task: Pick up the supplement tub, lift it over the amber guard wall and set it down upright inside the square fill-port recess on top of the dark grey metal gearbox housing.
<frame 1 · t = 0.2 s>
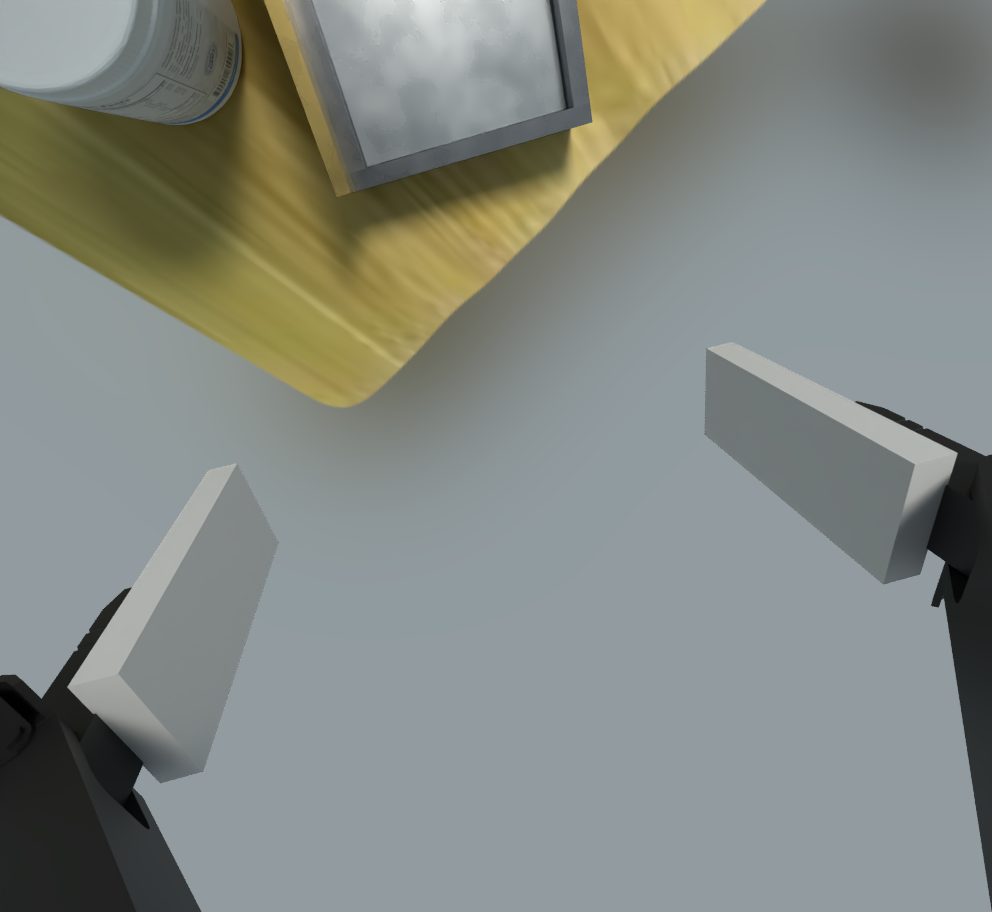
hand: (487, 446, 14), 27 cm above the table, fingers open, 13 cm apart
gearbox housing: (432, 21, 31), on the table
supplement tub: (159, 31, 30), on the table
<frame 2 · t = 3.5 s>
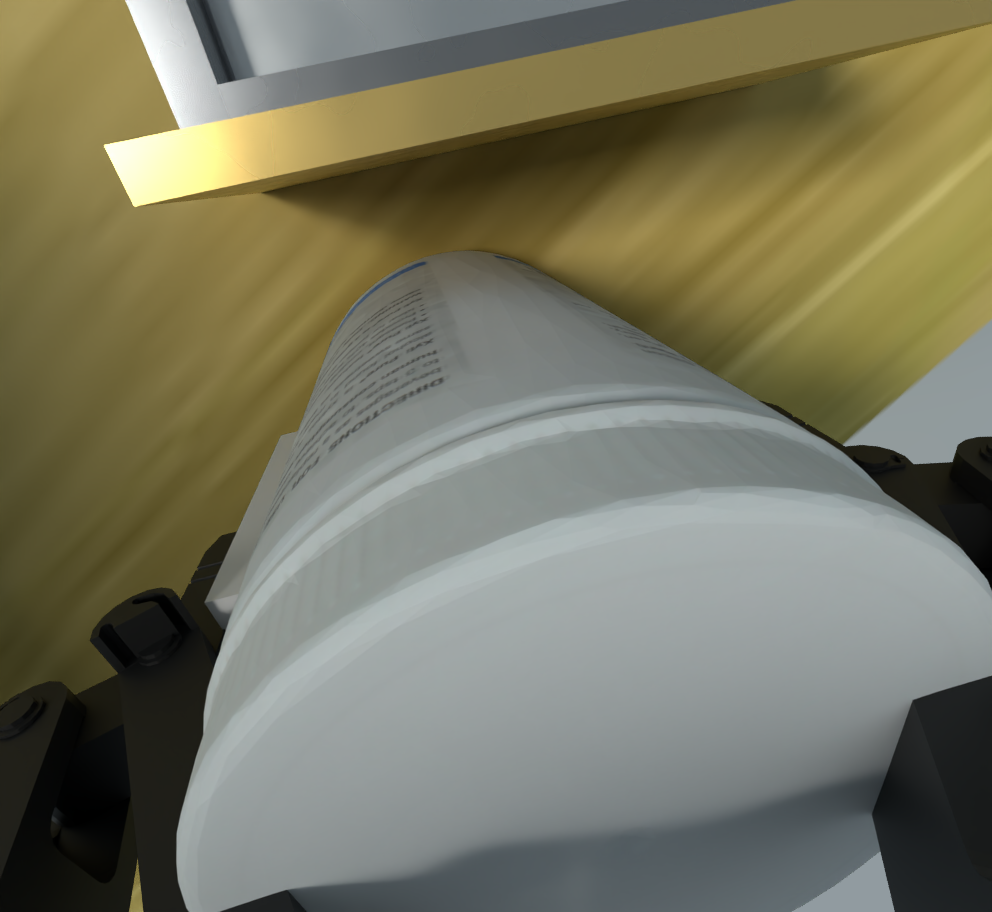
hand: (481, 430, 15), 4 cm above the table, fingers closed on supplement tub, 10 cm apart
supplement tub: (466, 384, 19), on the table, touching gripper
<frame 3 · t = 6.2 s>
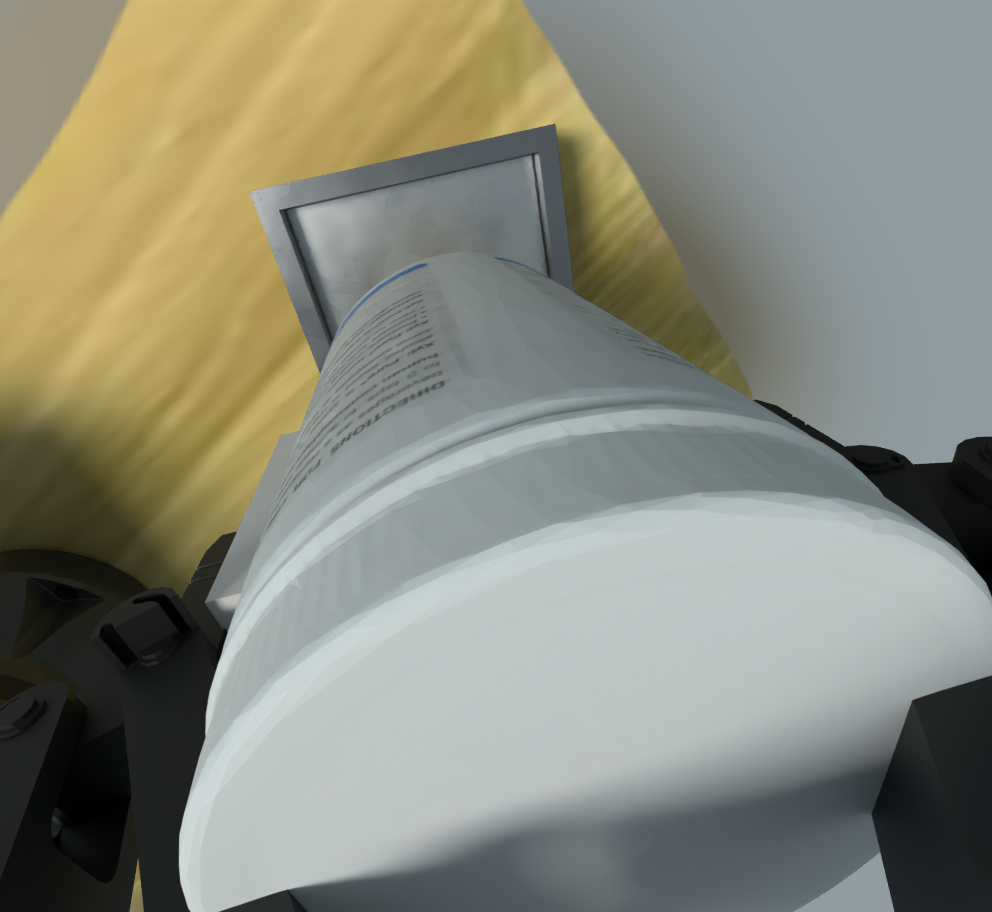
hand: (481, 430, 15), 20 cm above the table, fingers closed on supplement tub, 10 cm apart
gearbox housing: (437, 295, 32), on the table
supplement tub: (466, 385, 19), point 16 cm above the table, touching gripper
when the fingers open (8 cm above the table, at t = 8.8 s): supplement tub drops 1 cm, resting on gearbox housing.
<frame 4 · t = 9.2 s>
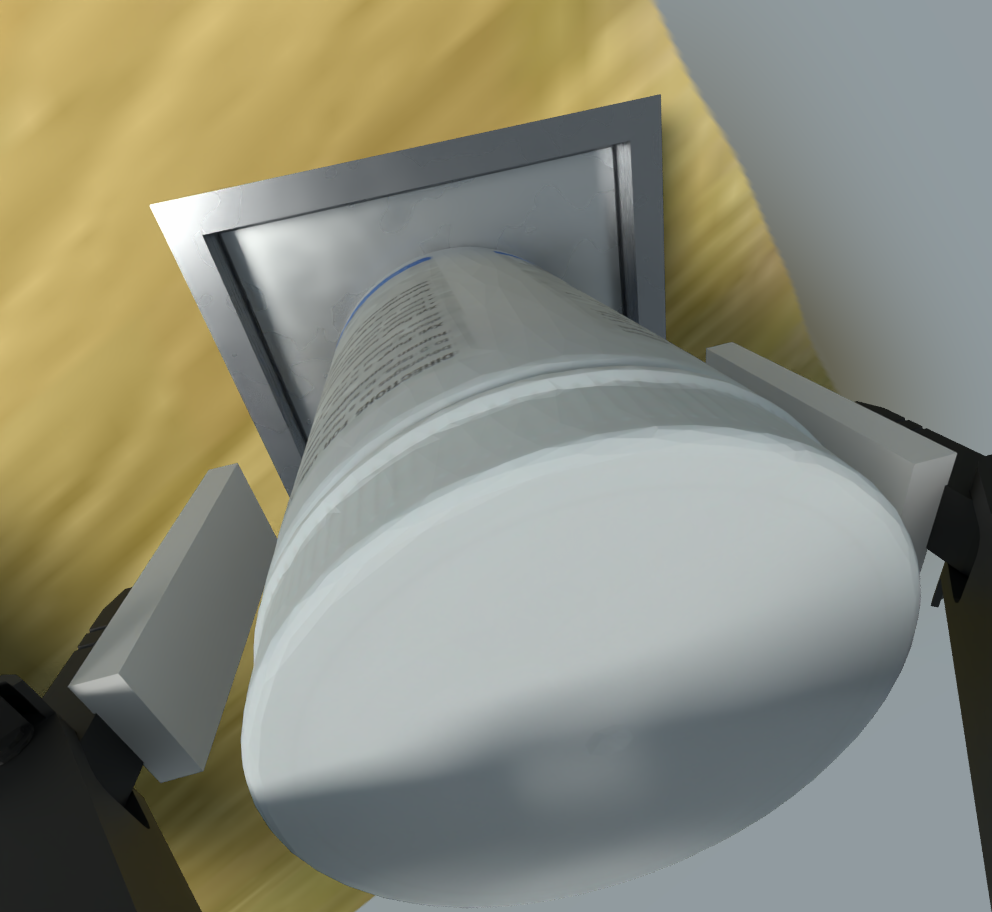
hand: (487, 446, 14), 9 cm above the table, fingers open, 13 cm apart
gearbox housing: (455, 350, 22), on the table
supplement tub: (467, 373, 20), point 3 cm above the table, touching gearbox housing
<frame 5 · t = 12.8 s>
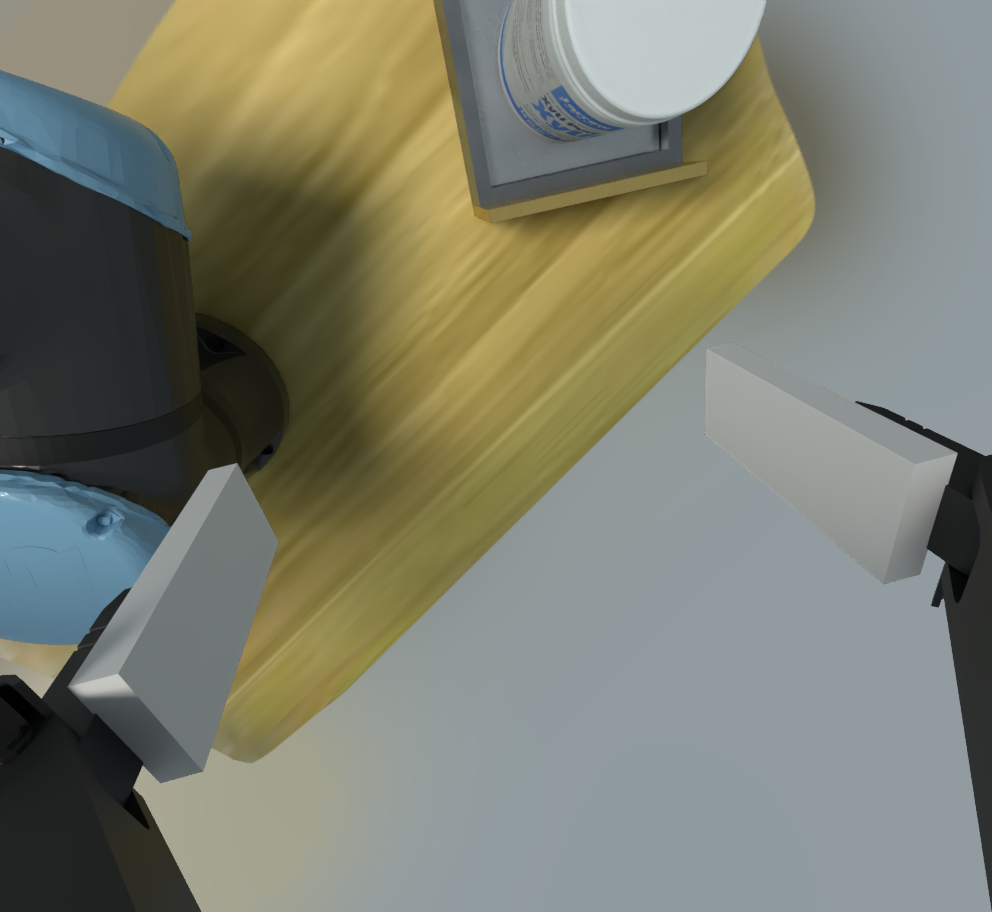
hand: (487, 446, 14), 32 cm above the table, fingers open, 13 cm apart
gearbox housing: (552, 67, 37), on the table
supplement tub: (566, 59, 34), point 3 cm above the table, touching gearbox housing
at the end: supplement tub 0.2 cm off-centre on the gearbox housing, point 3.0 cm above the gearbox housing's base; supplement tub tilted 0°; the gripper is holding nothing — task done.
